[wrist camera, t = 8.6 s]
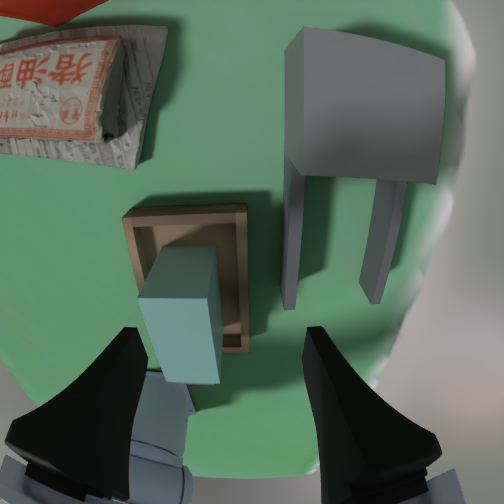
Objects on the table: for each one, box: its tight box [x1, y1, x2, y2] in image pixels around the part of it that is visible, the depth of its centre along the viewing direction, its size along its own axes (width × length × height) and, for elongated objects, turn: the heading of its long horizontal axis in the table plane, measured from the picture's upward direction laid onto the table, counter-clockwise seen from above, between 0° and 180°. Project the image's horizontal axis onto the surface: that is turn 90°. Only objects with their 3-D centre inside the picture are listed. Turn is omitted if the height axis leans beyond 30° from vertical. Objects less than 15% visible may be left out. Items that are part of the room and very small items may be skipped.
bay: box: [280, 27, 445, 310], centre depth 16 cm, size 17×8×6 cm, turn 1°
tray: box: [122, 203, 250, 353], centre depth 22 cm, size 13×8×2 cm, turn 1°
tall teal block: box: [137, 245, 224, 385], centre depth 20 cm, size 9×4×6 cm, turn 1°
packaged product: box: [0, 25, 168, 171], centre depth 13 cm, size 18×5×10 cm
